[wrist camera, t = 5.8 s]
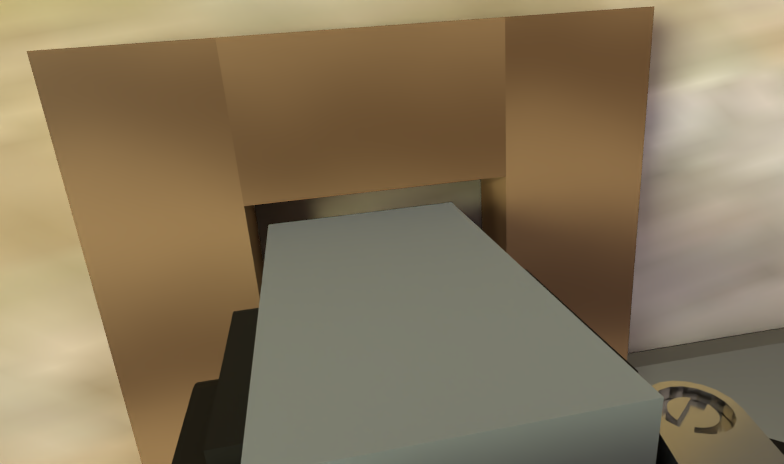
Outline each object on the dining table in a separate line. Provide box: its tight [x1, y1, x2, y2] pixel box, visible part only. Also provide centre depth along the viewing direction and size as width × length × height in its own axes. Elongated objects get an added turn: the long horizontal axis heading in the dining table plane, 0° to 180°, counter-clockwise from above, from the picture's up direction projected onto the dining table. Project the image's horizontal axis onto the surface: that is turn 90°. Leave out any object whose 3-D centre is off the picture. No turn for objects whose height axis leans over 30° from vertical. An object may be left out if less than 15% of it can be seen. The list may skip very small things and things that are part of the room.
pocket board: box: [27, 7, 654, 464], centre depth 15 cm, size 14×14×2 cm
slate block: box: [241, 202, 664, 464], centre depth 10 cm, size 4×4×8 cm
